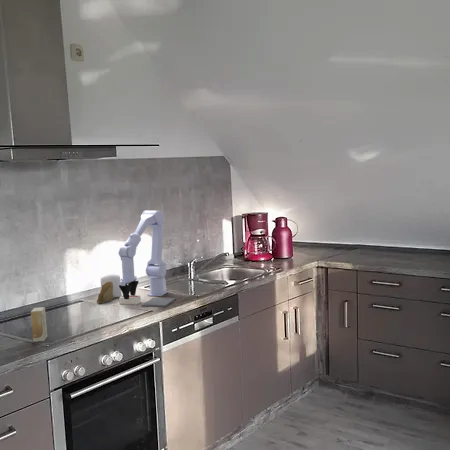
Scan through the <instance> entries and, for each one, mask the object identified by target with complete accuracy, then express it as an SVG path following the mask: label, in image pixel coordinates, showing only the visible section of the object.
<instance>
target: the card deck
mask: <svg viewBox="0 0 450 450" xmlns="http://www.w3.org/2000/svg"><path fill="white" fill-rule="evenodd" d="M141 297H142V296H141V295H136V294H135V295H130V294H129V299H124V296H123V295H122V296H121V297H118V298H119V299H118V300H119V305H138V304H140V303H141V302H142V299H141Z"/></svg>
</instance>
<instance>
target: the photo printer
mask: <svg viewBox="0 0 450 450" xmlns="http://www.w3.org/2000/svg"><path fill="white" fill-rule="evenodd" d="M110 281H111V282H112V283H113V299H115V298H119V297H121V296H123V293H122V291H121V289H120V288H119V285H121V277H120V274H118V273H108V274H104V275H102V276H100V290H101V289H102V285H104V284H105V283H106V282H110Z"/></svg>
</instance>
